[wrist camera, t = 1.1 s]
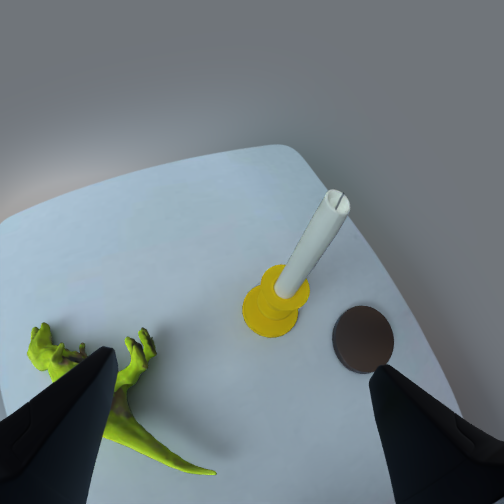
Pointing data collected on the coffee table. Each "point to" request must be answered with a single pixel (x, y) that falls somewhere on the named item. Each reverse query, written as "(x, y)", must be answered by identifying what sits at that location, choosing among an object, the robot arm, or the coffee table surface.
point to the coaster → (363, 339)
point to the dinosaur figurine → (120, 417)
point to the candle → (294, 272)
